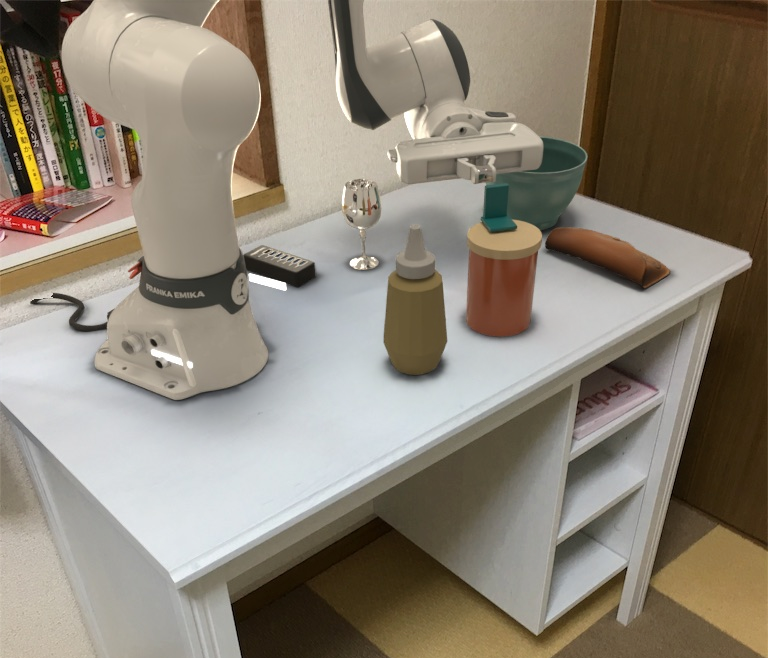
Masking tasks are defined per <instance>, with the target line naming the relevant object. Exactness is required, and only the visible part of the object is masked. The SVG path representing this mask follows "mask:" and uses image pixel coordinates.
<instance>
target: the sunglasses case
mask: <svg viewBox="0 0 768 658" xmlns="http://www.w3.org/2000/svg"><path fill="white" fill-rule="evenodd" d="M544 247H545V249H546V250H548V251H554V252H555V253H559V254H562V255H565V256H566V255H567V256H569V257H571V258H576V259H580V260H581V261H584V262H586V263H588V264H590V265H593V266H595V267H599V268H602V269H604V270H606V271H608V272H610V273H612V274H615V275H618V276H620V277H623V278H624V279H627V280H630V281H632V282H633V283H636V284H638V285H640V286H641V287H642V288H643V289H647V288H649V287H651V286H654V285H656V284H657V283H658V282H660V281H662V280H663V279H664V278H666V277H668V276H669V275H670V273H671V269H669V268H668V267H667V266H666V265H665V264H664V263H663V262H662V261H660V260H658V259H656V258H655V257H653V256H651V255H649V254H647V253H645V252H642V251H641V250H639V249H636V247H635V246H634V245H632V244H631V243H630V242H628V241H625V240H622V239H620V238H619V237H615V236H612V235H610V234H607V233H606V234H605V233H603V232H599V231H596V230H593V229H588V228H581V227H572V226H571V227H567V226H565V227H555V228H554V229H552V230H551V231H550V232H549V233H548V235H547V236H546V240H545V243H544Z"/></svg>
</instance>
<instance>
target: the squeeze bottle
mask: <svg viewBox="0 0 768 658" xmlns="http://www.w3.org/2000/svg"><path fill="white" fill-rule="evenodd" d="M387 277H388V278H387V287H386V288H387V289H386V303H385V312H384V313H385V315H384V326H383V345H384V347H385V350H386V352H387V354H388V357H389V360H390V362H391V364H392V366H393V367H394V369H395V370H396V371H398V372H399V373H402V374H406V375H409V376H414V375H415V376H417V375H419V376H420V375H424V374H428V373H431V372H432V371H434V370H436V368H437V367H438V365H439V364H440V360H441V358H442V355H443V354H444V351H445V348H446V346H447V343H448V331H447V319H446V307H445V293H444V281H443V275H442V274H441V273H440V272H439V271H438V270H437V269H436V256H435V254H433V252H431V251H430V250H429V251H428V250H427V249H426V247H425V242H424V236H423V232H422V227H421V225H420V224H412V225H410V226H409V231H408V236H407V240H406V245H405V249H404V250H403V251H401V252H398V253H397V255H396V256H395V270H393V271H392V272H391V273H390V274H389V275H388V276H387Z"/></svg>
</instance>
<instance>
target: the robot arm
mask: <svg viewBox="0 0 768 658" xmlns="http://www.w3.org/2000/svg"><path fill="white" fill-rule="evenodd" d="M364 1H365V0H327V4H328V11H329V12H328V13H329V20H330V28H331V37H332V44H333V50H334V70H335V72H334V73H335V90H336V95H337V99H338V102H339V105H340V108H341V110H342V112H343V113H344V115H345V117H346V118H347V120H348V121H349V123H350V124H353V125H355V126H356V127H359V128H362V129H365V130H370V131H375V130H377V129H378V128H380V127H382V126H385V124H387V123H389V122H391V121H392V119H395V118H397V117H399V116H401V115H403V114H404V120H405V124H406V128H407V130H408V132H409V135H410V136H411V138H412V139H405V140H401V141H399V142H398V143H397V144H396V146H395V148H393V149H392V148H391V149H388V150H387V158H388V159H389V160H390V161H391V162H393V163H396V173H397V176H398V178H399V181H400V182H401V183H403V184H406V185H417V184H425V183H433V182H442V181H449V180H459V179H463V180H466V181H471V183H472V184H473V185H477V184H486V183H487V182H495V181H496V174H502V173H510V172H518V171H527V170H536V169H538V168H539V167H540V166H541V163H542V158H543V141H542V139H541V138H540V137H541V136H540V135H538V134H537V133H536V132H535V131H533V130H532V129H531V128H530V127H528V125H525V124H523V123H521V122H517V116H516V115H515V113H513V112H504V111H490V110H489V111H488V110H487V111H486V110H481V109H476V108H473V107H467V106H466V105H465V101H466V100H467V98H468V95H469V92H470V87H471V74H470V73H471V72H470V66H469V63H468V59H467V56H466V53H465V50H464V48H463V45H462V43H461V41H460V39H459V37H458V36H457V35H456V33H455V32H454V31H453V30H452V29H451V28H450V27H449V26H447V25H446V24H444V23H443V22H441V21H439V20H437V19H434V18H430V19H428V20H426V21H422V22H420V23H418V24H416V25H414V26H412V27H410V28H409V27H408V29H405V30H403V31H401V32H400V33H397V34H396V35H393V36H392V37H389V38H387V39H385V40H383V41H381V42H378V43H376V44H374V45H372V46H369V47H367V39H366V29H365V17H364ZM219 2H220V0H93V1H92V2H91V3H90V5H89V6H88V7H87V9H85V10H84V11H83V12H82V13H81V14H80V15H78V16H77V17H76V18H74V20H73V21H72V22H71V23H70V25H69V26H68V28H67V29H66V32H65V34H64V37H63V39H62V45H61V63H62V69H63V73H64V75H65V78H66V80H67V82H68V84H69V86H70V88H71V89H72V90H73V92H74V93H75V94H76V95H77V96H78V97H79V99H81V100H82V101H83V102H84V103H85V104H87V105H88V106H89V107H90V108H92V110H94V111H95V112H96V113H97V114H98V115H100V116H101V117H103V118H105V119H106V120H108V121H110V122H113V123H116V124H118V125H121V126H124V127H127V128H129V129H132V130H134V131H135V133H136V134H137V136H138V138H139V140H140V144H141V150H142V173H141V174H142V175H141V179H140V181H138V183H137V184H136V185H135V187H134V189H133V191H132V193H131V200H130V202H131V205H130V206H131V209H132V213H133V218H134V221H135V226H136V230H137V234H138V238H139V242H140V247H141V251H142V254H143V256H141V257H140V258H139V259H138V260H137V261H138V262H137V263H136V264H134V265H133V266H132V267H130V268H129V269H128V270H127V273H131V274H130V275H129V277H128V278H129V279H130V280H132V279H134V278H135V277H136V276H138V275H139V274H140V276H139V283H138V286H137V287H136V288H134V290H132V291H131V292H130V293H129V294H128V295H127V296H126V297H125V298H124V299H122V300H121V301H120V302H119V304H118V305H116V307H114V308H113V309H111V310H109V311H108V312H107V315H106V319H107V321H106V322H104V323H101V324H95V325H86V324H80V323H77V322H76V320H77V319H78V318H79V317H80V316H81V314H82V313H83V312H84V310H85V305H84V302H83V301H82V300H80V299H79V298H76V297H74V296H71V295H68V294H64V293H59V292H52V293H53V295H52V296H51V297H53V298H52V299H56V300H63V301H66V302H70V303H72V304H74V305H76V306H77V308H76V310H75V311H74V312H73V313H72V314H71V315H70V317H69V319H68V325H69V326H70V327H71V328H72V329H75V330H77V331H82V332H96V331H102V330H103V331H104V330H106V335H107V337H106V340H105V341H104V342H103V343H102V344H101V345H100V347H99V348H98V350H97V352H96V354H95V356H94V367H95V369H96V370H98V371H100V372H102V373H105V374H108V375H109V376H113V377H115V378H117V379H120V380H123V381H126V382H128V383H131V384H133V385H136V386H138V387H141V388H143V389H146V390H148V391H150V392H153V393H156V394H158V395H161V396H163V397H166V398H167V399H171V400H174V401H180V400H185V399H187V398H191V397H194V396H196V395H198V394H202V393H206V392H212V391H219V390H223V389H227V388H231V387H234V386H238V385H240V384H242V383H244V382H246V381H248V380H250V379H252V378H254V377H255V376H256V375H257V374H258V373H260V372H261V371H262V370H263V368H264V367H265V366H266V365H267V363H268V359H269V349H268V348H267V346H266V344H265V342H264V340H263V338H262V335H261V332H260V330H259V328H258V325H257V323H256V319H255V317H254V312H253V310H252V306H251V302H250V289H249V282H251V283H256V284H259V285H263V286H267V287H271V288H274V289H277V290H281V291H287V284H286V283H284V282H280V281H277V280H274V279H271V278H268V277H266V276H262V275H259V274H253V273H248V272H247V271H248V270H246V265H245V260H244V251H243V249H242V248H241V247H240V244H239V239H238V232H237V225H236V216H235V209H234V202H233V201H234V200H233V173H234V164H235V159H236V156H237V151H238V149H239V147H240V145H241V144H243V143H244V142H245V140H247V139H248V137H249V136H250V134H251V133H252V131H253V129H254V127H255V126H256V123H257V121H258V118H259V114H260V109H261V101H262V100H261V99H262V97H261V84H260V80H259V76H258V73H257V71H256V68H255V67H254V64H253V62H252V61H251V60H250V58H249V57H248V56H247V55H246V54H245V53H244V52H243V51H242V50H241V49H240V48H238V47H237V46H235V45H234V44H232V43H231V42H230V41H228V40H226V39H225V38H224V37H222V36H220V35H219V34H217V33H216V32H213V31H212V30H210V29H209V28H206V27H203V26H204V24H205V22H206V20H207V19H208V17H209V15H210V14H211V12H212V11H213V10H214V8H215V7H216V5H217V4H218V3H219ZM539 136H540V137H539ZM31 300H32V299H31ZM31 300H30V302H29V304H30V305H36V304H37V303H38V302H40V301H41V300H47V298H43V299H34V300H32V301H31Z"/></svg>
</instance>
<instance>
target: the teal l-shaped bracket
mask: <svg viewBox="0 0 768 658" xmlns="http://www.w3.org/2000/svg"><path fill="white" fill-rule="evenodd" d="M508 192H509V185H508V184H507V183H503V184H495V185H487V186H486V185H484V194H483V209H482V212H483V213H482V216H480V222H483V223H484V225H485V226H486V227H487V229H488V230H489V231H490V232H496V231H503V230H511V229H517V225H516V224H515V223H514V221H513V220H512V219H511V218H510V217H509V215H508V214H507V205H508Z"/></svg>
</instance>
